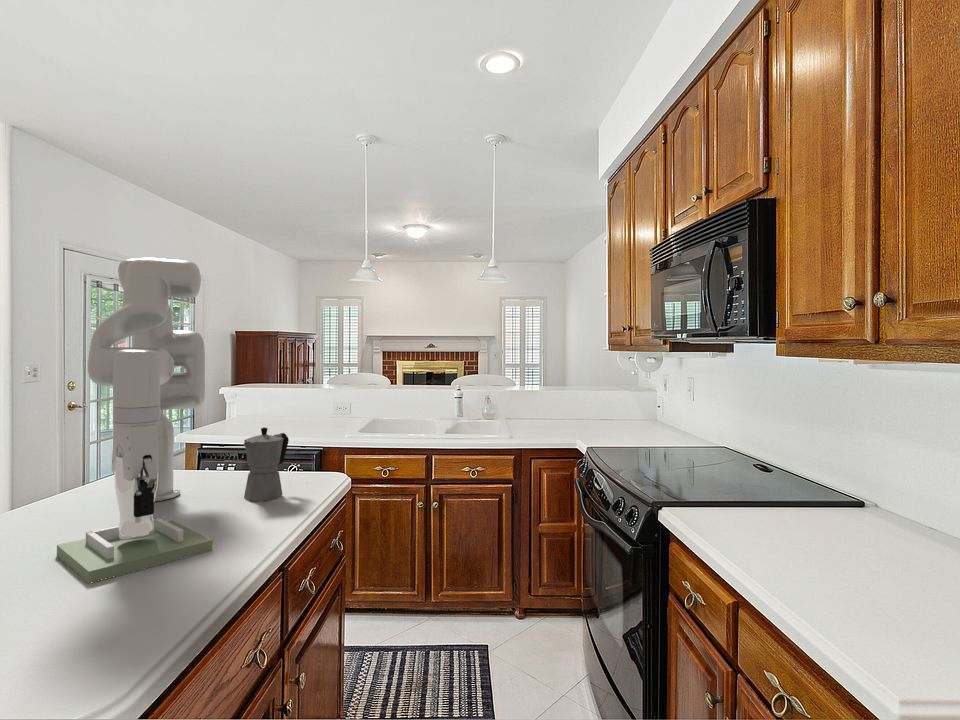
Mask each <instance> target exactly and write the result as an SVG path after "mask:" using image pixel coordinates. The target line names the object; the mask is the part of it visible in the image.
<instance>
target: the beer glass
mask: <svg viewBox="0 0 960 720" xmlns="http://www.w3.org/2000/svg"><path fill="white" fill-rule="evenodd" d="M145 476H146V475H145V472H144V469H143V467H142V469H141V471H140V474H139V476H138V478H139V477H145ZM113 481H114V490H115V496H116V501H117V507H118V512H119V523H118V526H119V529H118V533H117V537H118V538H120V539H126V540H129V539H139V538H144V537H147V536H150V535H152V534H154V533H155V525H154V520H153V518H154V513H153V514H151V515H146V516H141V517H134V495H136V490H135V478H134V479H133V480H132V481H127V480H125V479H124V476H123V458H122V457H118V456H116V463H115V474H114V479H113ZM145 481H146V480H144V481H140V485H141V486H142V483H143V482H145ZM157 485H158V474H157V480H156V482H155V486H154V488H155V492H154V503H156V501H155V497H156V491H157Z"/></svg>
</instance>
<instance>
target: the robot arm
mask: <svg viewBox="0 0 960 720" xmlns="http://www.w3.org/2000/svg"><path fill="white" fill-rule="evenodd" d="M117 273H118V278H119V282H120V286H121V288H122V290H123V294H122V295H123V296H122V304H121V305H122V306H121V308H119V309H118V310H115V311H114V312H113V313H111V314H109V315H108V316H107V317H106V318H105V319H104V320H103V321H102V322H100V323H99V325H98V326H97V327H96V328H95V329H94V331H93V333H92V336H91V340H90V345H89V346H90V347H89V351H88V359H87V373H88V376H89V378H90V380H91V382H93V384H94V383H95V385H98V386H102V387H109V386H110V387H112V426H114V431H113V437H112V439H113V440H112V451H111V452H112V453H111V472H112V474H114V475H115V463H116V456H118V457H122V458H123V476H124V479H125V480H127V481H132V480H133V479H134V478H135V490H136V495H134V517H141V516H146V515H151V514H153V515H154V514H155V502H160V501H165V500H170V499H173V498H176V497H177V496H179V495H180V493H181V488H179V487H177V486H174V453H175V452H174V445H175V444H174V442H175V440H174V439H175V437H174V436H175V435H174V431H175V430H174V429H175V428H174V425H173V423H172V421H171V420H170V418H168V416H166V415H165V413H163V411H169V410H190V409H191V410H192V409H197V408H200V407H201V406H202V405H203V403H204V400H205V395H206V354H205V353H206V351H205V350H206V348H205V347H206V346H205V342H204V341H205V340H204V338H203V337H202V335H201V334H200V333H199V332H197V331H195V330H186V329H185V330H184V329H183V330H181V329H180V330H179V329H173V309H172V308H171V306H170V305H169V297H170V298H171V297H173V298H192V299H194V298H196V297H197V296H198V294H199V292H200V289H201V284H202V283H201V282H202V281H201V280H202V279H201V278H202V277H201V275H202V274H201V271H200V268H199V266H198V265H197V264H196V263H195V262H192V261H189V260H182V259H181V260H180V259H168V258H167V259H166V258H158V257H157V258H156V257H141V258H128V259H124V260H122V261H121V262H120V263H119V264H118V267H117ZM129 337H132V340H133V341H132V345H133V346H132V347H131V346H130V347H128V346H127V347H125V346H123V347H121V346H120V347H119V346H117V347H116V346H113V345H114V344H116V343H118V341H119V342H120V341H121V340H124V339H126V338H129ZM112 346H113V347H112ZM175 368H182V369H183V370H185V372H183V371H181V372H175ZM142 467H143V469H144V472H145V475H146V476H145V477H139V478H138V476H139V474H140V471H141V469H142ZM157 474H158V485H157V491H156V497H155V502H154V492H155V488H154V486H155V482H156V480H157ZM144 480H146V481H145V482H143V483H142V486H141V485H140V481H144Z"/></svg>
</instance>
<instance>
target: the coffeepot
mask: <svg viewBox="0 0 960 720" xmlns="http://www.w3.org/2000/svg"><path fill="white" fill-rule="evenodd" d="M260 432H261V434H259V435H254V436H252V437H248V438H246V439H244V440H243V441H244V442H243V446H244V447H245V454H246V460H247V461H246V463H247V466H248V467H249V473H247V474H248V475H247V479H246V485H245V490H244V496H243V498H244V499H245V500H246V501H248V502H254V501H255V503H256V502H257V503H259V502H260V501H262V502H270V500H271V501H275V500H277V499H280V498H281V497H282V495H283V489H282V483H281V478H280V472H279V470H278V466H279V465H282V464H283V463H284V460H285V457H286V453H287V449H288V444H289V442H290V441H289V437H288V435H287V434H286V433H284V432H281V433H276V434H273V435H272V434H268V427H261V428H260ZM274 499H275V500H274ZM258 501H259V502H258ZM260 503H261V502H260Z"/></svg>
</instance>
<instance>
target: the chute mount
mask: <svg viewBox="0 0 960 720" xmlns="http://www.w3.org/2000/svg"><path fill="white" fill-rule="evenodd" d="M153 520H154V525H155V533H154V534H152V535H150V536H147V537H144V538H139V539H129V540H126V539H120V538H118V537H117V533H118V529H119V525H116V526H111V527H106V528H101V529H96V530H91V531H87V532H85V538H84V539H83V538H82V539H79V540H73V541H69V542H68V541H67V542H65V543H59V544H56V556H57V557H58V558H59V559H60V560H61V561H62V562H64V564H66V566H68V567H69V568H70V567H71V568H72V569H71V568H70V569H71V570H72V571H73V572H75V573H76V574H77V575H78V574H79V575H80V578H81V579H83V580H84V579H85V580H86V581H87V582H86V581H85V580H84V581H85V582H86V583H88V584H89V583H90V584H92V583H91V582H93V583H96V582H95V581H97V582H99V581H98V580H101V579H105V578H108V579H110V578H109V577H112V578H114V577H113V576H116V577H118V576H117V575H120V576H122V574H123V575H126V574H125V573H127V574H129V572H131V573H133V571H134V572H138V571H141V569H142V570H145V569H144V568H146V569H149V568H152V567H151V566H153V567H156V566H160V564H161V565H164V564H167V562H168V563H171V561H172V562H175V561H178V560H177V559H179V560H182V559H181V558H183V559H186V558H185V557H187V558H190V557H194V556H196V555H197V554H198V555H201V554H205V553H208V552H212V551H213V539H211V538H210V537H209V538H208V537H207V536H205V535H203V534H201V533H199V532H197V531H195V530H193V529H191V528H189V527H187V526H186V525H183V524H181V523H179V522H177V521H175V520H173V519H172V520H167V521H166V520H165V519H163V518H161V517H159V516H158V517H153ZM204 552H205V553H204ZM193 555H194V556H193ZM189 556H190V557H189ZM174 560H175V561H174ZM148 567H149V568H148ZM137 570H138V571H137ZM79 575H78V576H79ZM105 580H106V579H105ZM101 581H102V580H101Z"/></svg>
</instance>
